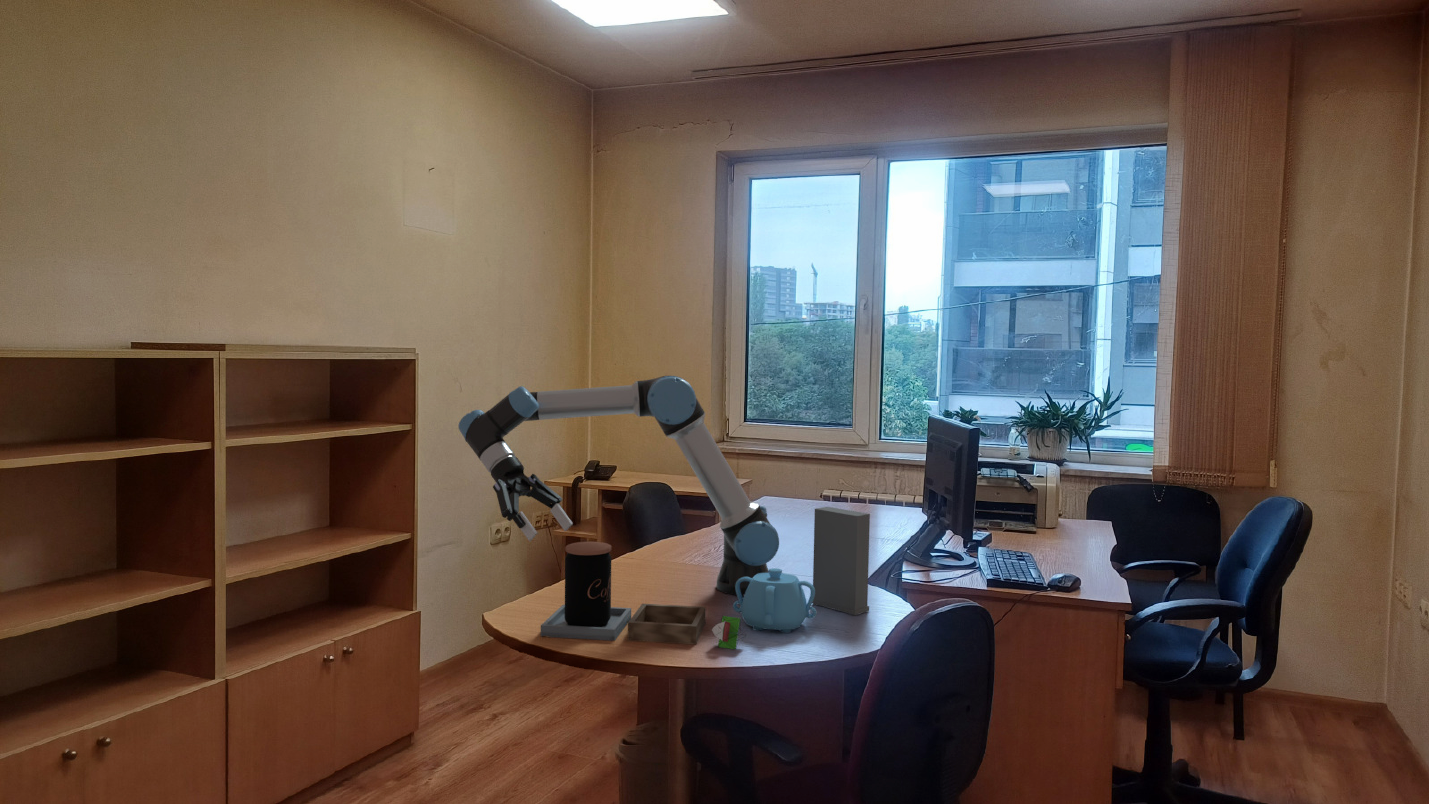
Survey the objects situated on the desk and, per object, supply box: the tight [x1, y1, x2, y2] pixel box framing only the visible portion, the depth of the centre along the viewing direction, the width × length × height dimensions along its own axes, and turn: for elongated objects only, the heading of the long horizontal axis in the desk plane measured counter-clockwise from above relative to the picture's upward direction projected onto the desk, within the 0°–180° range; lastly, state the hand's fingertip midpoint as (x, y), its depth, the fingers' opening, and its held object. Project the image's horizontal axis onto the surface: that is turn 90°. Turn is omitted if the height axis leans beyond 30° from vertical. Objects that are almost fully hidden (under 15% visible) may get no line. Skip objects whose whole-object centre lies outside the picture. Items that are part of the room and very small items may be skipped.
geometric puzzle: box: [710, 615, 748, 651], centre depth 189 cm, size 7×7×8 cm
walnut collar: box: [627, 603, 707, 645], centre depth 199 cm, size 15×15×4 cm
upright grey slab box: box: [811, 506, 871, 616], centre depth 220 cm, size 14×6×25 cm, turn 44°
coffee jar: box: [564, 541, 612, 627], centre depth 201 cm, size 11×11×18 cm
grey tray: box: [540, 604, 632, 642], centre depth 201 cm, size 17×17×2 cm
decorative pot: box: [732, 567, 818, 634], centre depth 205 cm, size 16×16×14 cm
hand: (551, 532), depth 205 cm, fingers open, 13 cm apart
